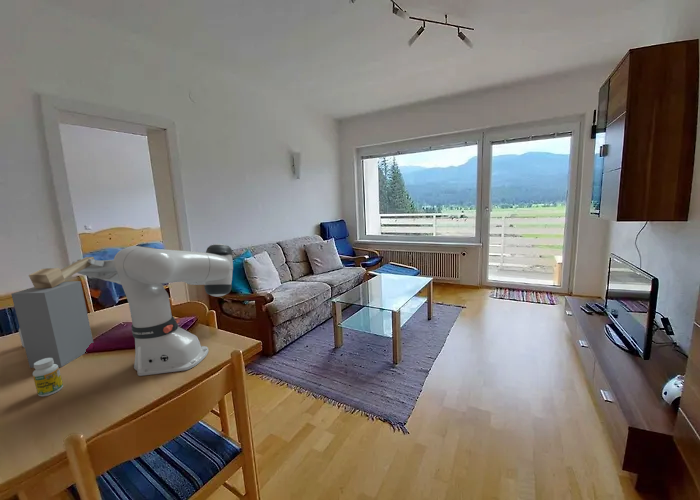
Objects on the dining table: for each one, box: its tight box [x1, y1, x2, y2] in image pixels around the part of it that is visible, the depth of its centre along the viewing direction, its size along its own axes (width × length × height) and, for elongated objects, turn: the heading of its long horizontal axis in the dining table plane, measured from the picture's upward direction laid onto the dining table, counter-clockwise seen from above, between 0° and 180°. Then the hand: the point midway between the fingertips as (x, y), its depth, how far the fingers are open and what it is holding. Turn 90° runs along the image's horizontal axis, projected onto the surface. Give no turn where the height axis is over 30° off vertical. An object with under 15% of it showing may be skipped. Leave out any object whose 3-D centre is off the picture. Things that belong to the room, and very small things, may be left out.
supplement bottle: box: [32, 358, 64, 397], centre depth 89 cm, size 5×5×10 cm
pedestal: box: [11, 280, 94, 369], centre depth 107 cm, size 11×13×26 cm
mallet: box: [28, 256, 95, 288], centre depth 112 cm, size 6×20×5 cm, turn 178°
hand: (83, 261), depth 119 cm, fingers closed on mallet, 3 cm apart
